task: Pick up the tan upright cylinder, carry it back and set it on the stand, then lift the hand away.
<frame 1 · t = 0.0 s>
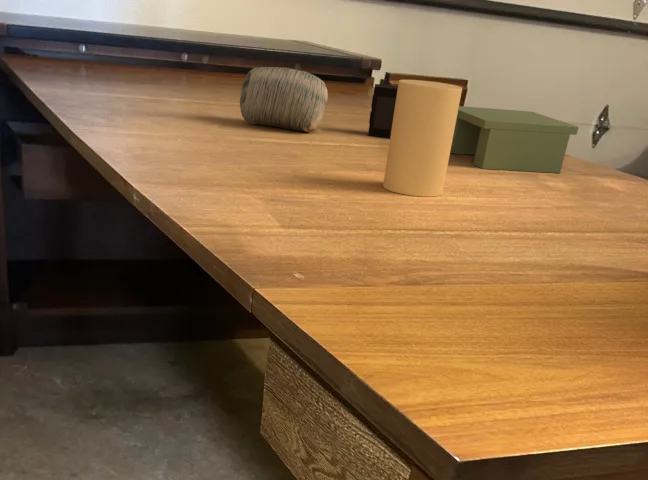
digital camera: (399, 139, 130), on the table
grey yarn skein: (281, 129, 128), on the table
stand: (500, 161, 119), on the table
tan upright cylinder: (412, 189, 96), on the table
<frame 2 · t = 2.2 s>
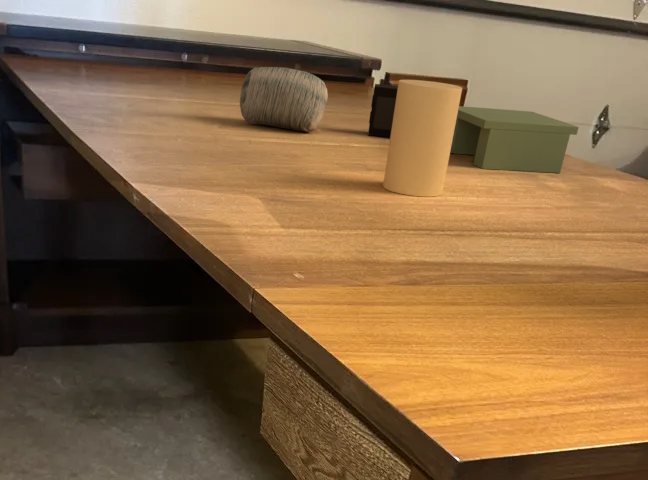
nothing on the table moved.
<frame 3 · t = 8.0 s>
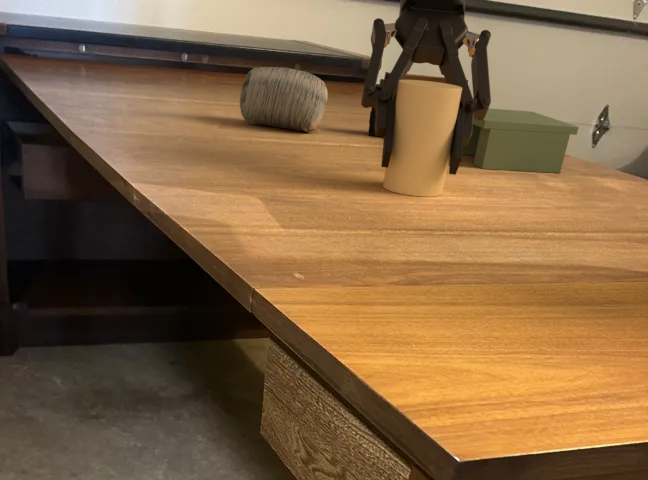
hand: (420, 162, 91), 4 cm above the table, tool tilted 45°, fingers closed on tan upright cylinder, 7 cm apart
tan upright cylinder: (412, 189, 96), on the table, touching gripper
everything else where it was.
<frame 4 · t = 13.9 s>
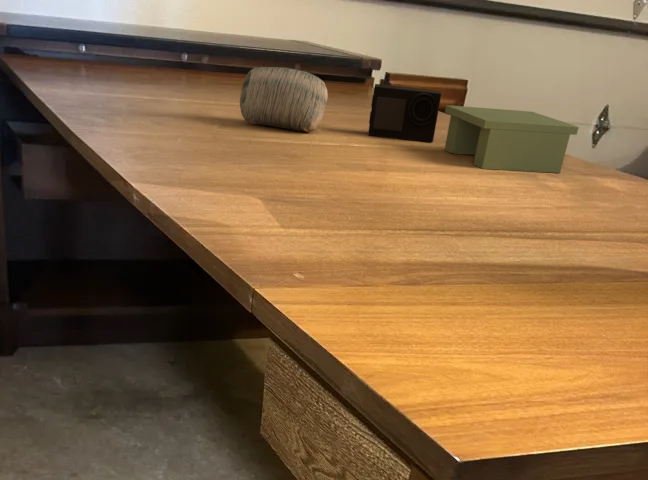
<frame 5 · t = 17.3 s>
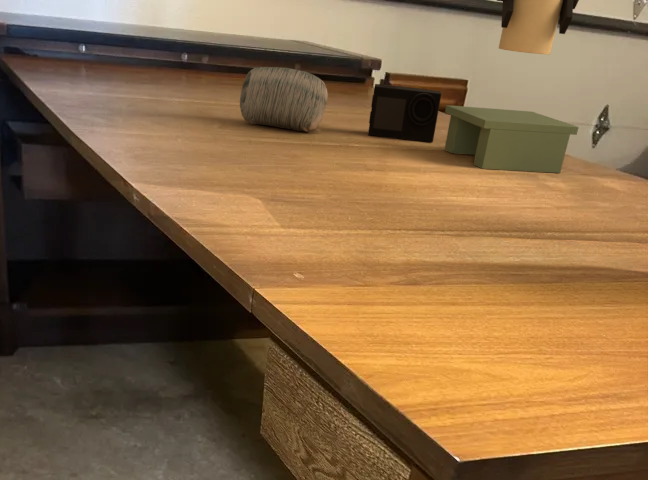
hand: (536, 22, 107), 17 cm above the table, tool tilted 45°, fingers closed on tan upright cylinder, 7 cm apart
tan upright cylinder: (524, 51, 112), point 14 cm above the table, touching gripper
everything else where it was.
when the fingers open (9 cm above the table, at t = 19.8 s): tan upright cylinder stays where it is, resting on stand.
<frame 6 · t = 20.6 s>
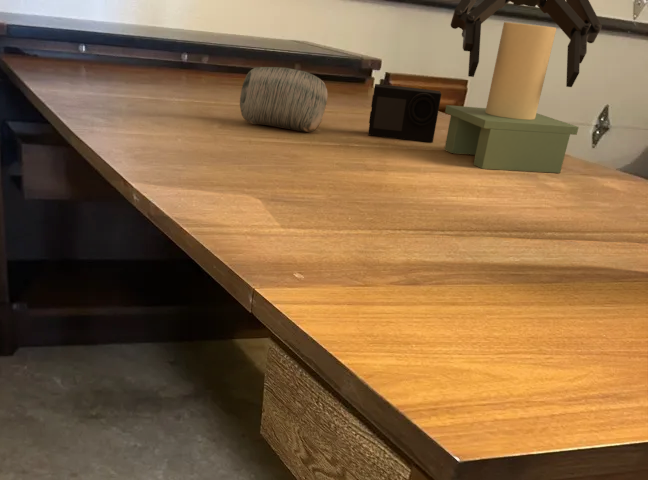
hand: (523, 74, 111), 11 cm above the table, tool tilted 45°, fingers open, 13 cm apart
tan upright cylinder: (510, 115, 116), point 6 cm above the table, touching stand
everything else where it was.
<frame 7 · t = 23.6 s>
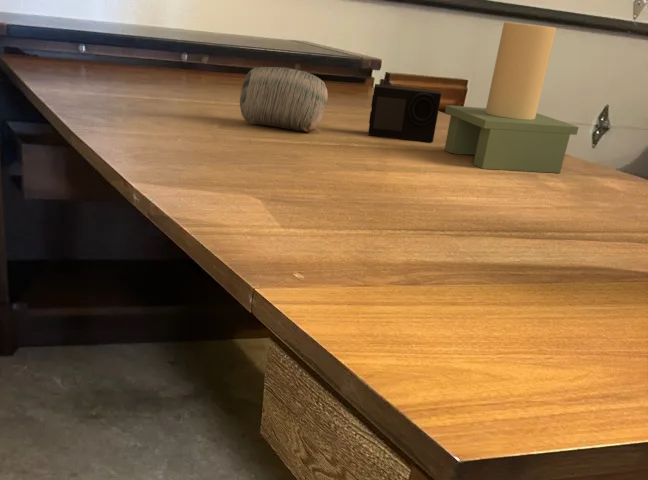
nothing on the table moved.
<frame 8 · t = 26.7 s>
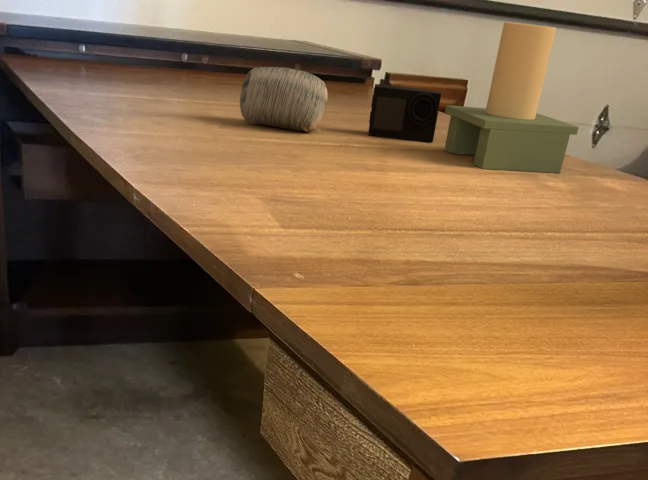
nothing on the table moved.
at the end: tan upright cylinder inside the target area on the stand (0.1 cm from its centre), point 6.0 cm above the stand's base; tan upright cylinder tilted 0°; the gripper is holding nothing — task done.
